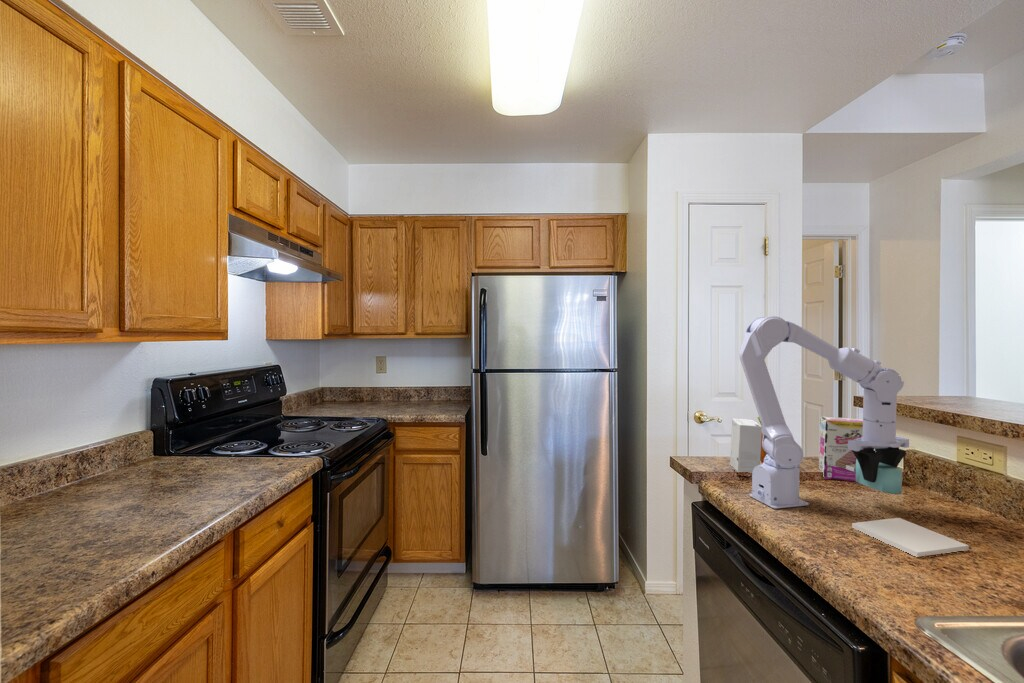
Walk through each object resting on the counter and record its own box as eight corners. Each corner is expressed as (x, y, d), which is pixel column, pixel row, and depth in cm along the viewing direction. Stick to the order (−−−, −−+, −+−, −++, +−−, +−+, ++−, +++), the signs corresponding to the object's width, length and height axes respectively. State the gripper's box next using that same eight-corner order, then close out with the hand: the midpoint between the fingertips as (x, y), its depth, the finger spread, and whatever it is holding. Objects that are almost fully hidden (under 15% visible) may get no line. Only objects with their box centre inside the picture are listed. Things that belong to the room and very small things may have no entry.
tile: (917, 558, 78) (917, 552, 77) (852, 527, 89) (852, 523, 89) (968, 550, 80) (968, 545, 80) (898, 522, 92) (898, 517, 92)
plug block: (891, 494, 93) (892, 471, 93) (843, 477, 104) (843, 456, 104) (906, 493, 94) (907, 470, 94) (856, 476, 104) (857, 455, 104)
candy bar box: (824, 479, 117) (825, 419, 117) (818, 473, 122) (819, 416, 122) (874, 484, 114) (875, 422, 113) (866, 478, 118) (867, 418, 118)
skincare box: (729, 467, 128) (729, 417, 127) (751, 469, 127) (752, 418, 126) (737, 477, 120) (738, 423, 119) (762, 478, 118) (762, 424, 118)
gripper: (870, 425, 92) (869, 489, 92) (924, 422, 95) (923, 483, 95) (839, 419, 99) (838, 477, 99) (890, 416, 102) (889, 473, 102)
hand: (877, 480), depth 98 cm, fingers closed on plug block, 4 cm apart
